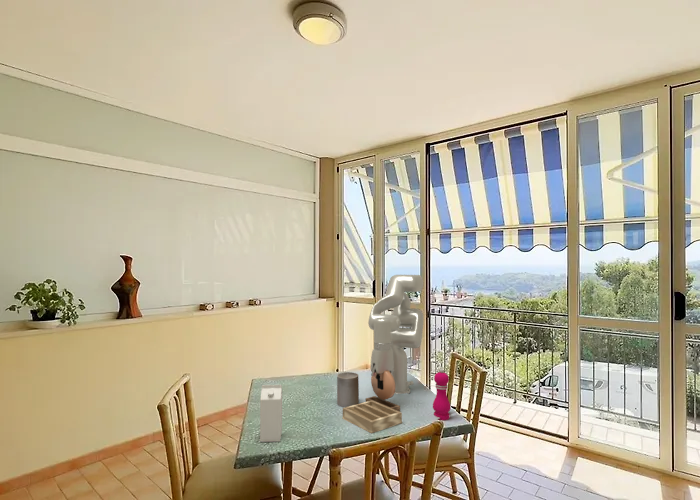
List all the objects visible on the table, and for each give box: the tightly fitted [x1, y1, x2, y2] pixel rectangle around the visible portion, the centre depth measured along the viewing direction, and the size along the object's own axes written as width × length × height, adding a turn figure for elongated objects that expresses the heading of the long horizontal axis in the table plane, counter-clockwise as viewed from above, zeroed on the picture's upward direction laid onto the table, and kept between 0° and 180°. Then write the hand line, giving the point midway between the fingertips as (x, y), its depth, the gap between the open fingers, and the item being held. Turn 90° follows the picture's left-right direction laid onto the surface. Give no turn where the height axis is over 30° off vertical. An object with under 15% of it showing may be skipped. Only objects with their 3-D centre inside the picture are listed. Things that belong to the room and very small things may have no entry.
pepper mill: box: [432, 368, 451, 421], centre depth 166 cm, size 7×7×20 cm
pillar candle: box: [336, 371, 360, 408], centre depth 178 cm, size 10×10×15 cm
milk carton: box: [259, 384, 283, 443], centre depth 146 cm, size 7×7×19 cm
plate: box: [370, 370, 395, 400], centre depth 175 cm, size 2×13×13 cm, turn 38°
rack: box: [342, 400, 403, 434], centre depth 159 cm, size 16×18×5 cm
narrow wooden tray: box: [365, 395, 401, 412], centre depth 173 cm, size 6×16×3 cm, turn 38°
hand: (383, 387), depth 175 cm, fingers closed on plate, 2 cm apart
